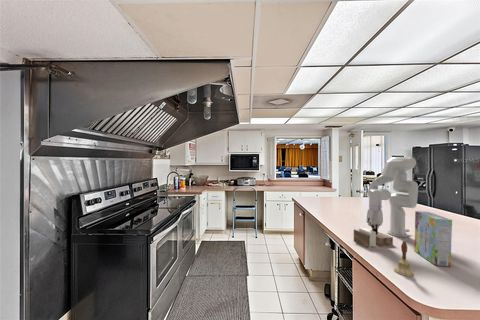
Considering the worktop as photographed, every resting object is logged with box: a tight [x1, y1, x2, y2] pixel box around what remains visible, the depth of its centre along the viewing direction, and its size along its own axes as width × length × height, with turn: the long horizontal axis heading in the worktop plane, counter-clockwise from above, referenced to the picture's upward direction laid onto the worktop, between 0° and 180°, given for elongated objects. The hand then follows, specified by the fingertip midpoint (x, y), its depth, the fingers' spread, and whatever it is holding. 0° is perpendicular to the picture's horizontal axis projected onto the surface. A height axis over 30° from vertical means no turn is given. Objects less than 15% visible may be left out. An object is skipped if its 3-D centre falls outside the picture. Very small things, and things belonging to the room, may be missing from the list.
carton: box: [358, 227, 376, 246], centre depth 159 cm, size 9×10×4 cm
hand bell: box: [393, 240, 415, 277], centre depth 119 cm, size 8×8×16 cm
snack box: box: [413, 210, 453, 268], centre depth 136 cm, size 22×9×26 cm, turn 168°
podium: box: [353, 229, 394, 248], centre depth 161 cm, size 21×13×8 cm, turn 104°
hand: (374, 233), depth 162 cm, fingers closed
